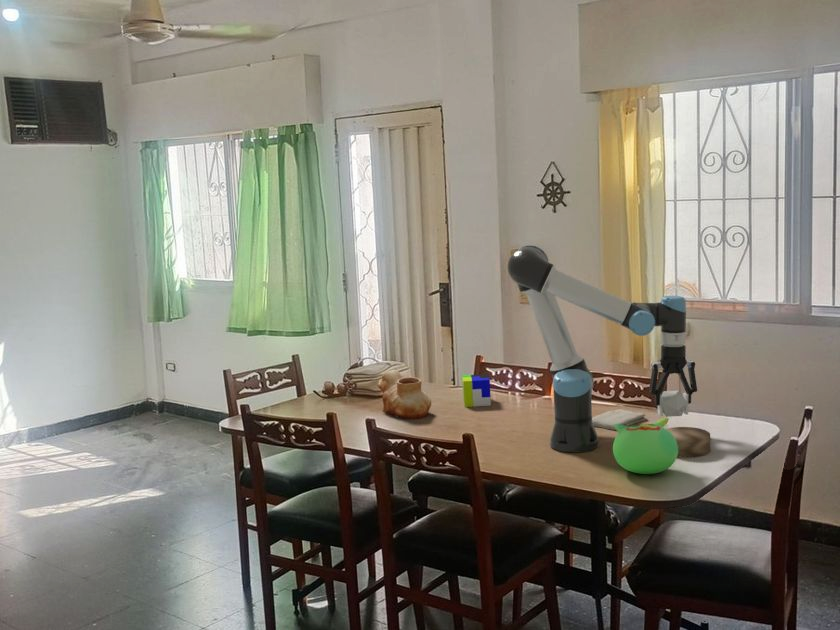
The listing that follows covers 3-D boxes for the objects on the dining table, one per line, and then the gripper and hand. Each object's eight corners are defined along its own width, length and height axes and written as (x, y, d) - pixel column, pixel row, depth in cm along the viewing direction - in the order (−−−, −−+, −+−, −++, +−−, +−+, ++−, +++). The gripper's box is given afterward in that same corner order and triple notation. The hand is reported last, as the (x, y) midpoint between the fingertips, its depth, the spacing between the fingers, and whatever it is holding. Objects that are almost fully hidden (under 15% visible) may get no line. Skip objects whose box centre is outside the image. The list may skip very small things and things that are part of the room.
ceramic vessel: (401, 402, 358) (398, 365, 355) (439, 414, 336) (437, 375, 334) (371, 409, 350) (368, 371, 348) (408, 422, 328) (405, 381, 326)
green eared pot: (615, 481, 254) (613, 430, 251) (612, 462, 270) (610, 414, 268) (681, 481, 251) (680, 429, 248) (674, 461, 267) (673, 413, 265)
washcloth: (647, 420, 313) (647, 411, 313) (617, 432, 301) (616, 423, 301) (618, 415, 322) (618, 406, 321) (587, 427, 310) (587, 418, 309)
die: (682, 422, 287) (695, 395, 289) (657, 408, 288) (670, 382, 290) (674, 424, 295) (686, 398, 297) (650, 411, 296) (663, 385, 298)
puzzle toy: (491, 405, 344) (489, 379, 343) (464, 407, 345) (463, 381, 343) (489, 399, 354) (488, 373, 353) (463, 400, 354) (462, 375, 353)
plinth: (668, 459, 270) (668, 443, 269) (652, 444, 284) (652, 429, 284) (718, 455, 270) (718, 438, 270) (699, 440, 285) (699, 425, 284)
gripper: (645, 348, 285) (645, 418, 289) (709, 345, 287) (708, 415, 290) (638, 343, 293) (638, 412, 296) (700, 340, 294) (699, 409, 298)
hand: (672, 414), depth 293 cm, fingers closed on die, 8 cm apart
